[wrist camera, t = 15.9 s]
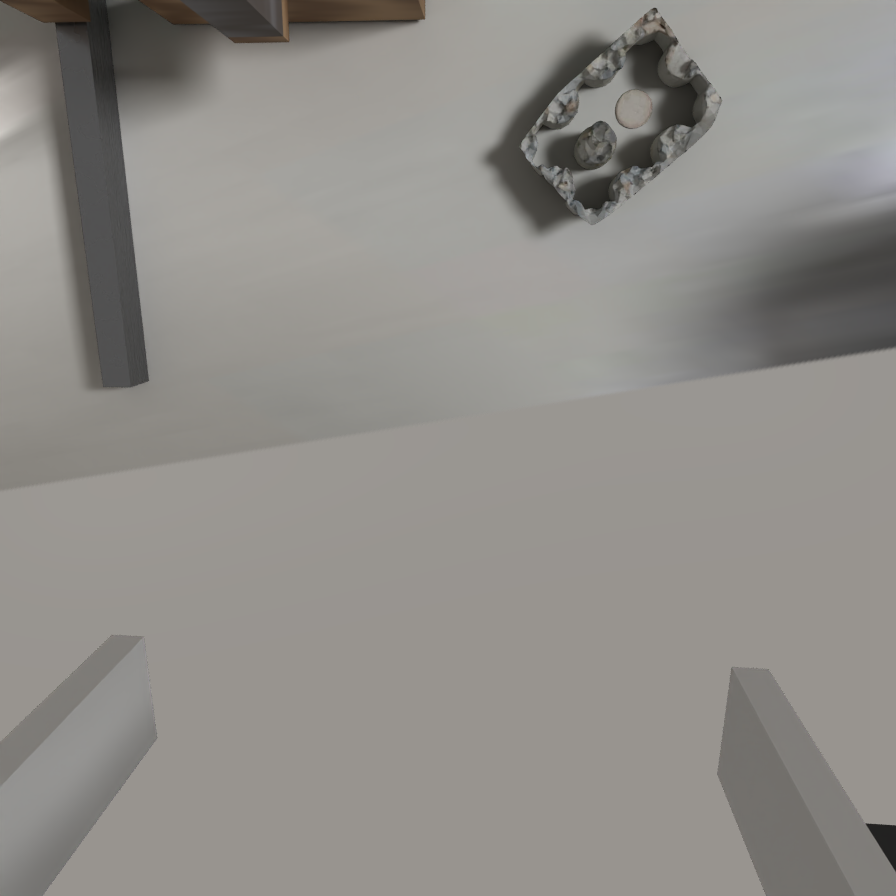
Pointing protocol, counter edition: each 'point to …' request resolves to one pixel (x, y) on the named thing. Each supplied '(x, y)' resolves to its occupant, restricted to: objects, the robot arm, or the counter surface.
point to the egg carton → (626, 117)
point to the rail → (103, 195)
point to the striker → (240, 13)
